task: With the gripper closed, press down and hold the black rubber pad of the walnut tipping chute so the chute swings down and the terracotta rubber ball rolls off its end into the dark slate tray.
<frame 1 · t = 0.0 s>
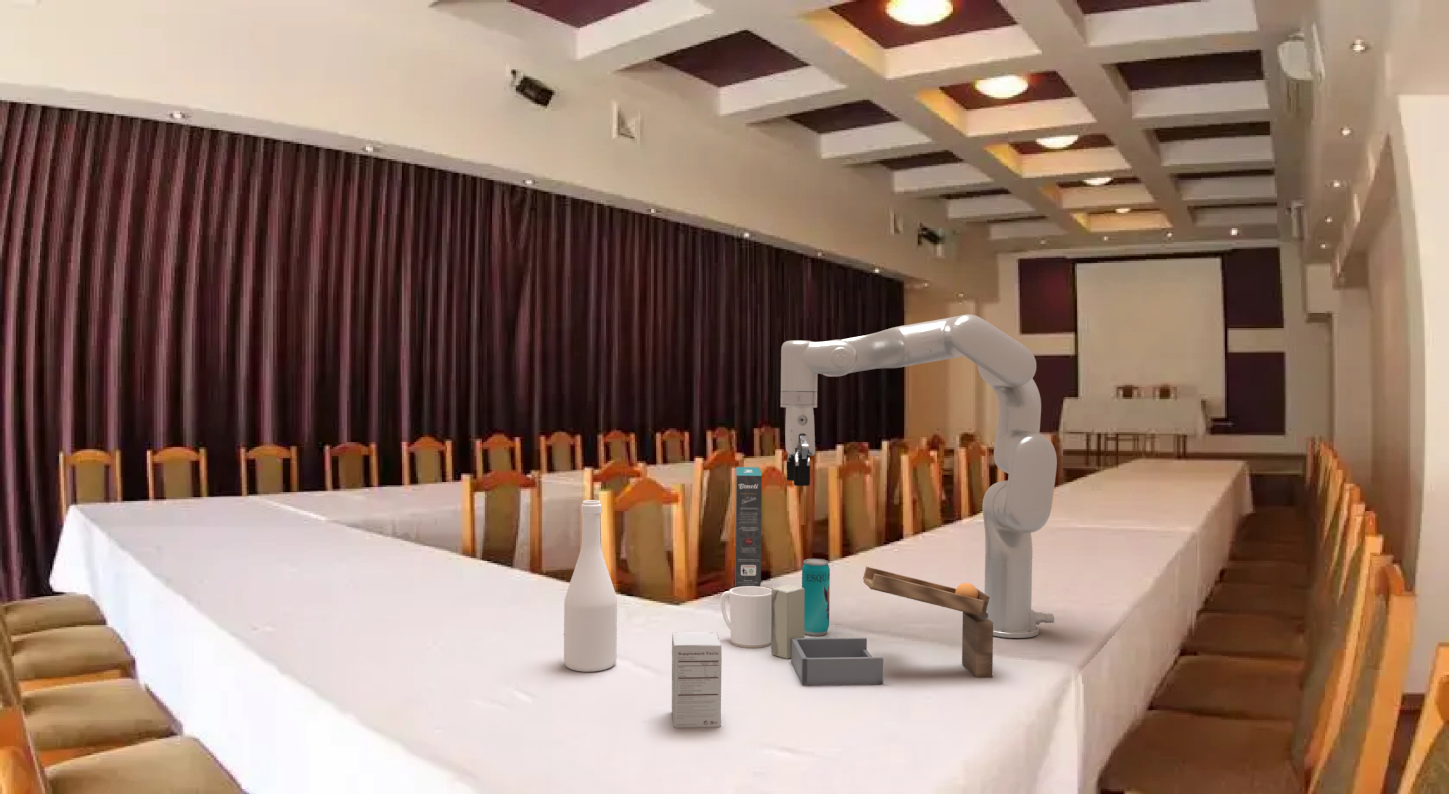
hand: (797, 483, 191), 31 cm above the table, fingers open, 9 cm apart
beverage can: (815, 634, 192), on the table
lever: (919, 584, 171), point 15 cm above the table, hinge at -14.0°, touching ball
supplement box: (695, 720, 142), on the table
mug: (746, 643, 185), on the table
wine bottle: (590, 666, 169), on the table
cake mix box: (747, 592, 229), on the table
tray: (835, 673, 165), on the table
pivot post: (977, 671, 167), on the table
box: (787, 655, 176), on the table
ball: (966, 594, 167), point 14 cm above the table, tilted 18°, touching lever
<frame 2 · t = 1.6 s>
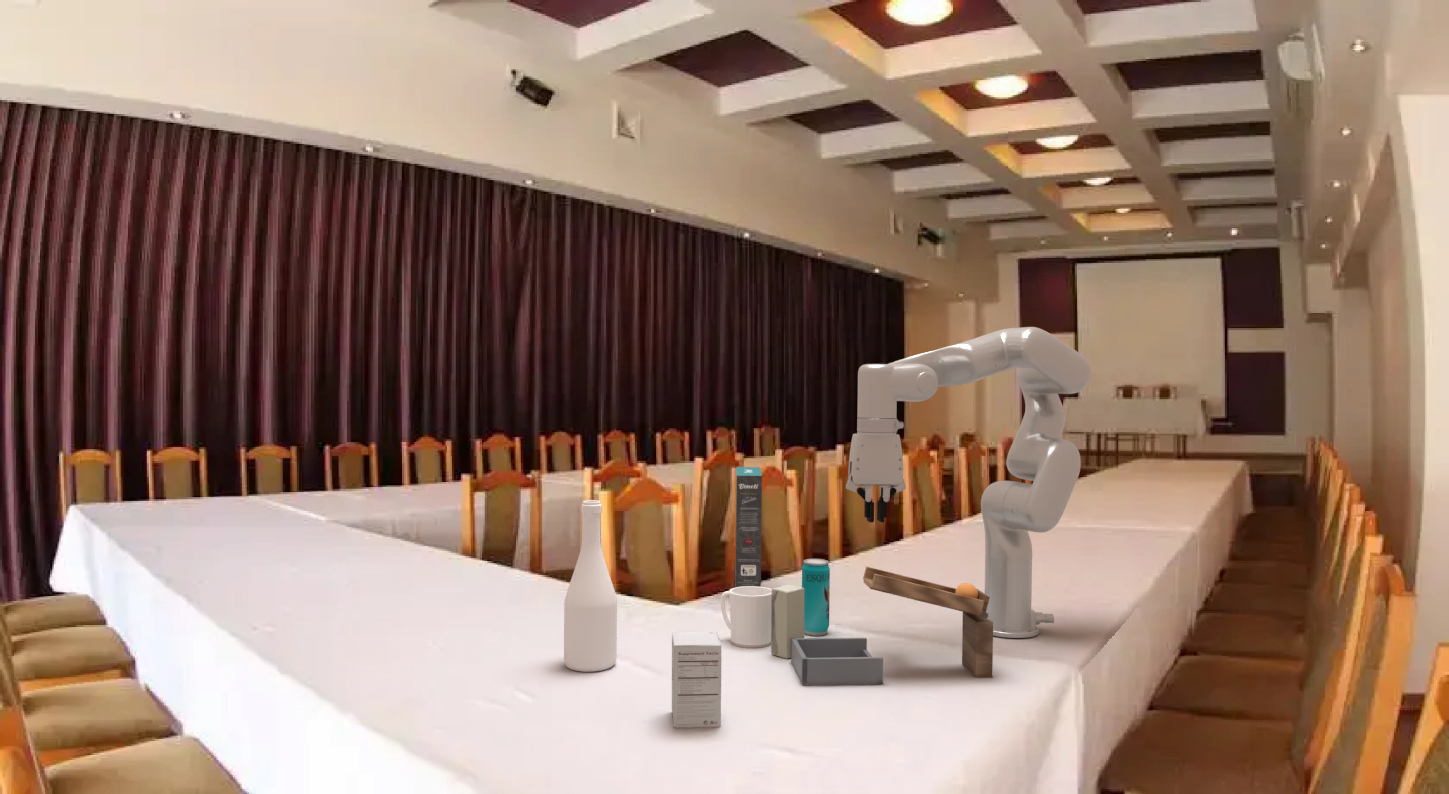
hand: (875, 520, 180), 25 cm above the table, fingers closed
nothing on the table moved.
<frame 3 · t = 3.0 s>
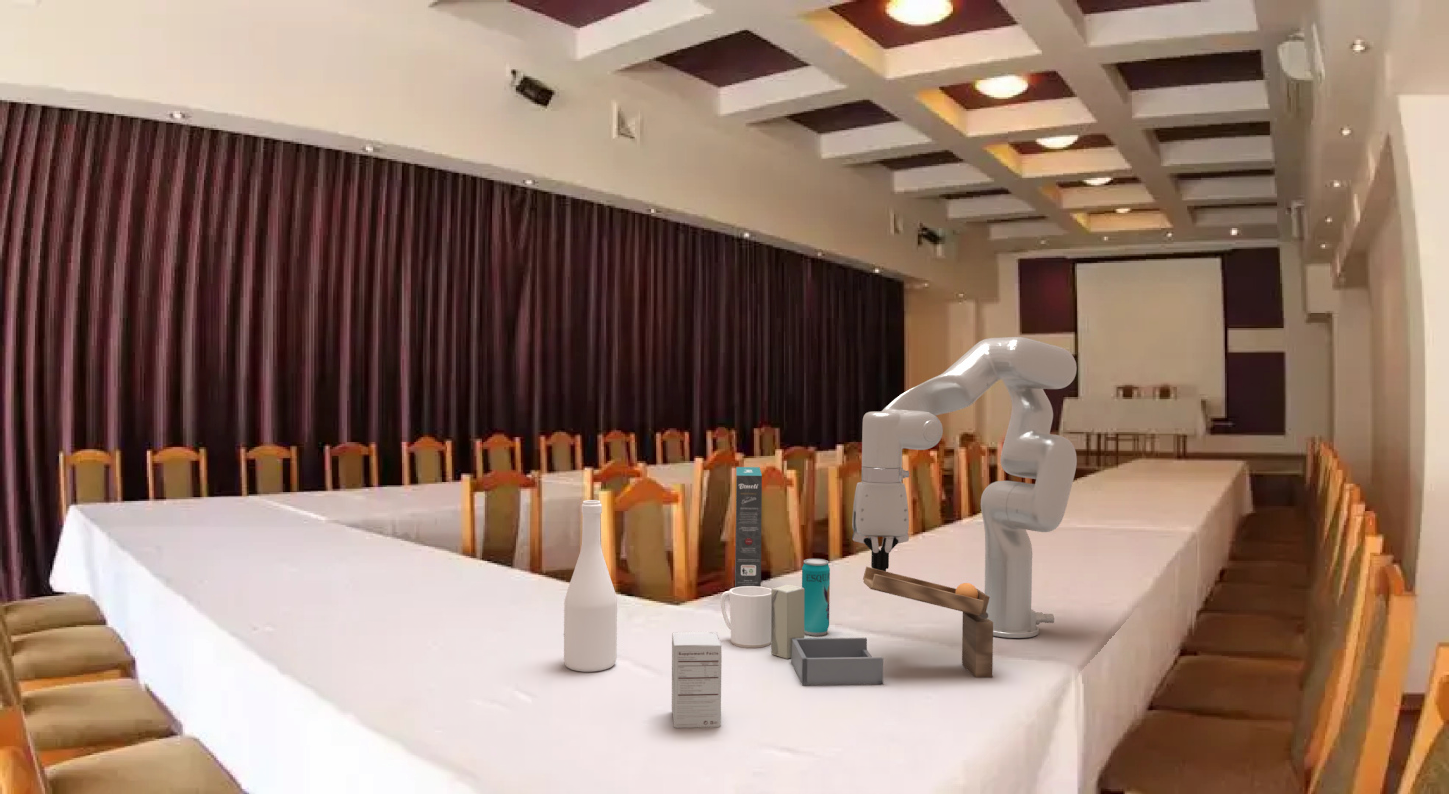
hand: (879, 572, 176), 16 cm above the table, fingers closed
lever: (919, 584, 171), point 15 cm above the table, hinge at -13.9°, touching ball, gripper
everything else where it was.
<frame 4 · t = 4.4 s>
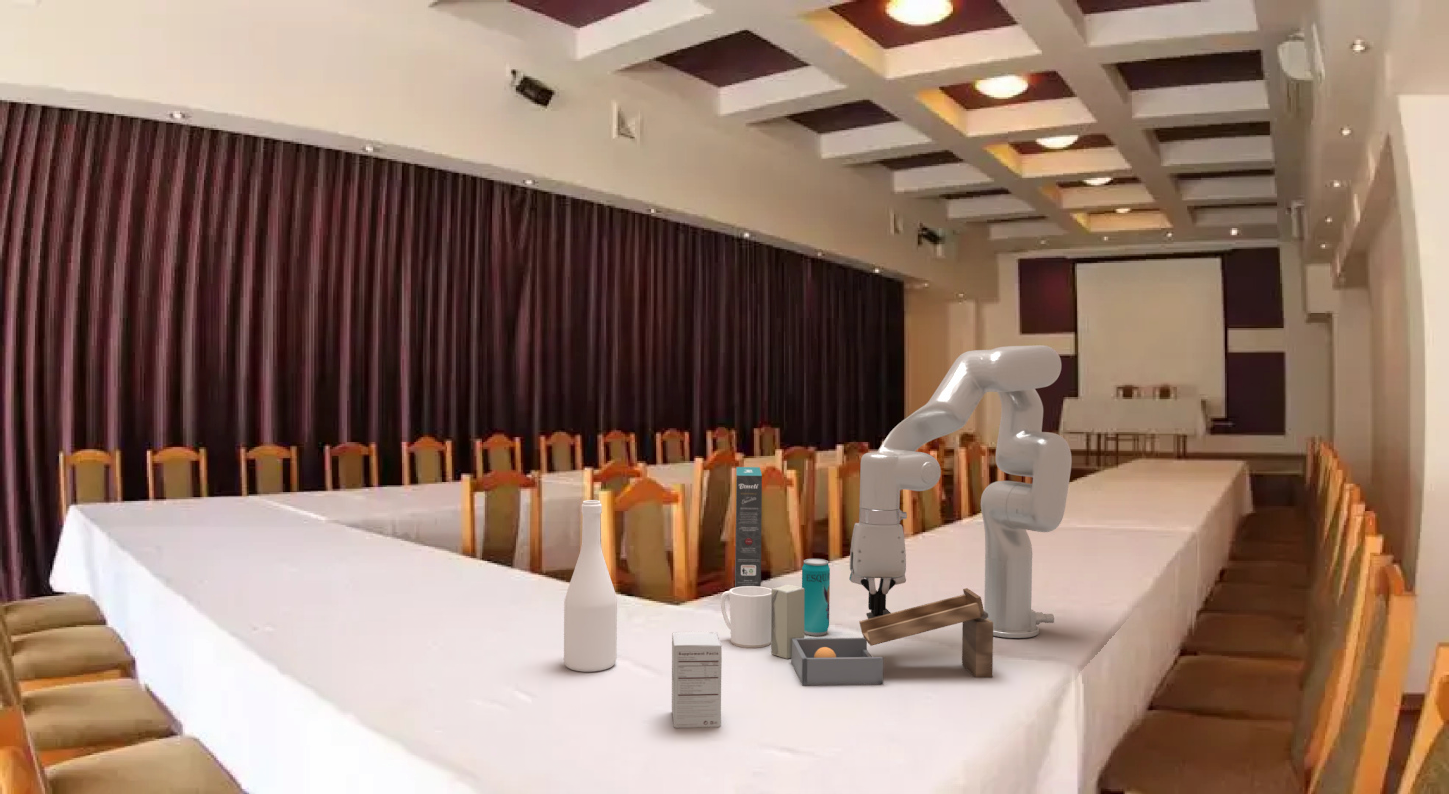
hand: (876, 613, 176), 8 cm above the table, fingers closed
lever: (915, 611, 171), point 10 cm above the table, hinge at 13.8°, touching gripper
ball: (825, 658, 165), point 3 cm above the table, tilted 18°, touching tray
everything else where it was.
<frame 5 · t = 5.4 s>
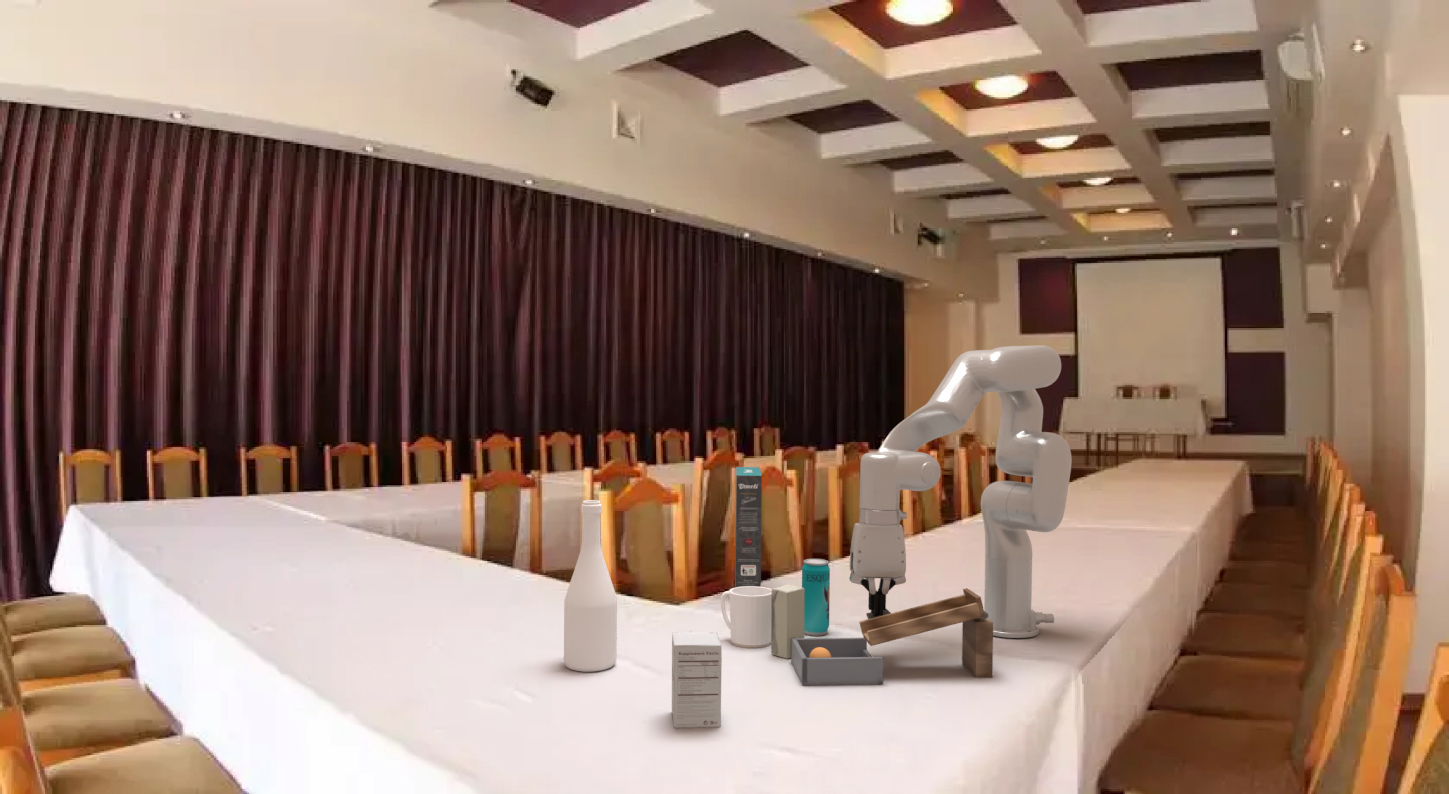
hand: (876, 613, 176), 8 cm above the table, fingers closed
ball: (820, 658, 165), point 3 cm above the table, tilted 110°, touching tray
everything else where it was.
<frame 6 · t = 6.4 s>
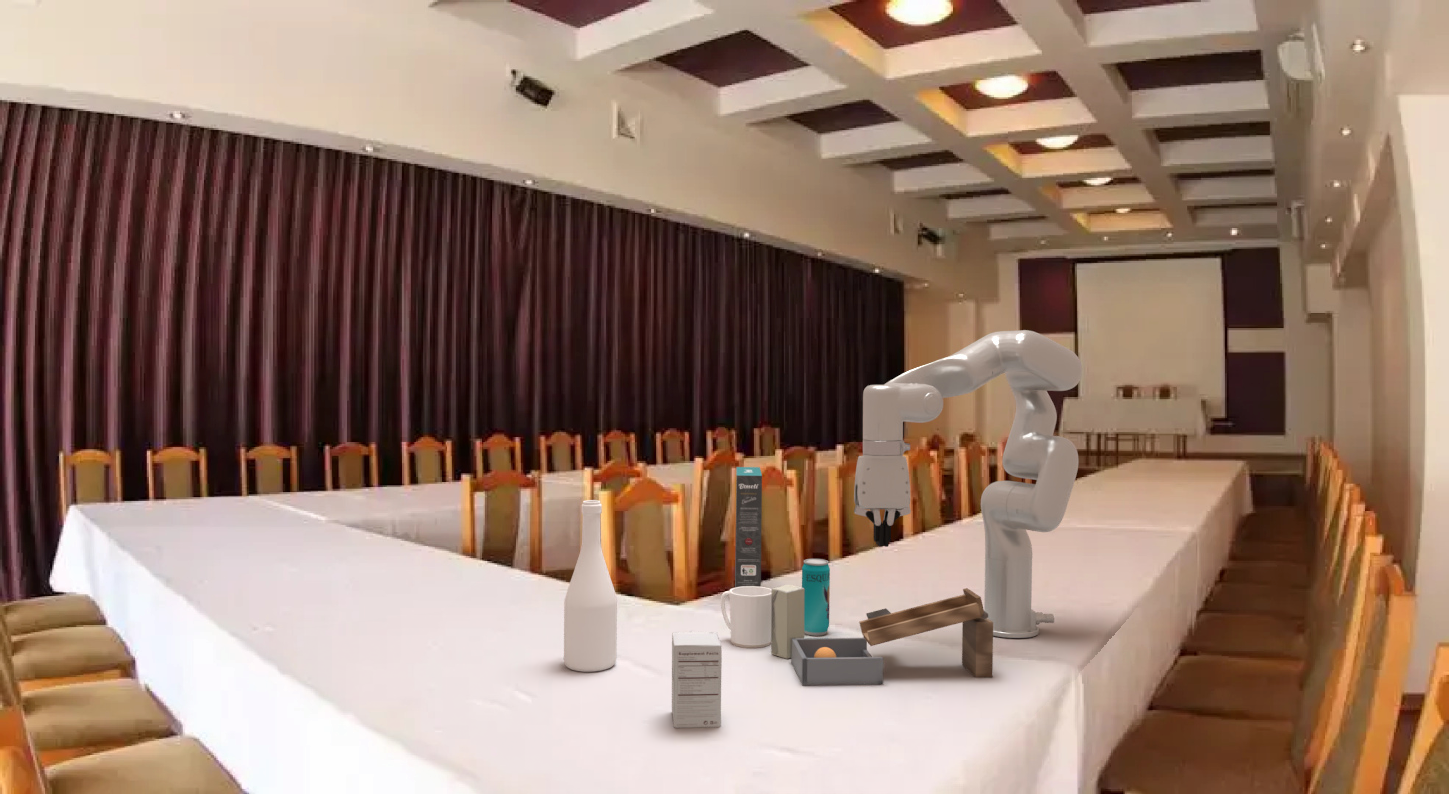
hand: (882, 545, 176), 21 cm above the table, fingers closed
lever: (915, 611, 171), point 10 cm above the table, hinge at 13.9°
ball: (825, 658, 165), point 3 cm above the table, tilted 83°, touching tray
everything else where it was.
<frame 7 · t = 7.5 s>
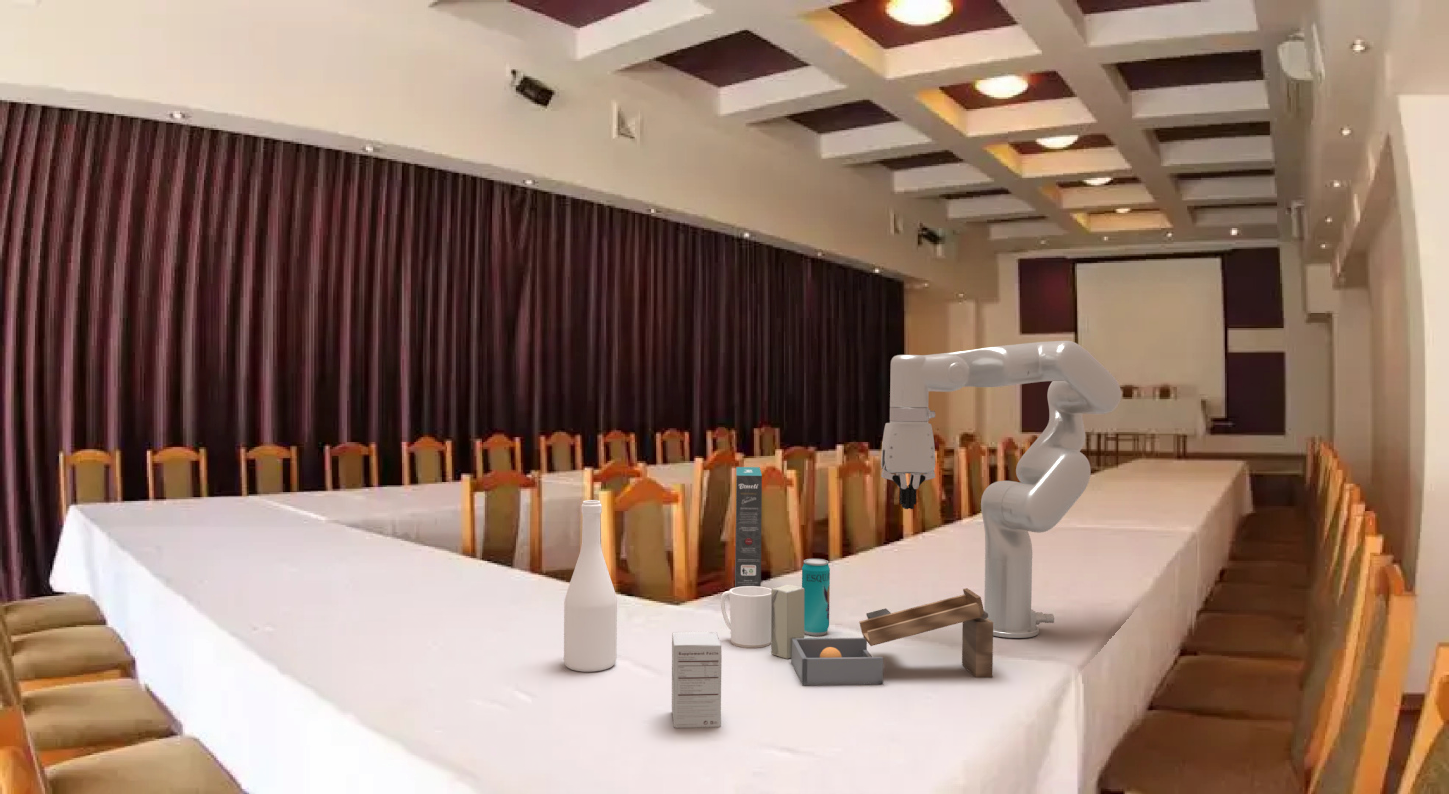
hand: (907, 508, 185), 27 cm above the table, fingers closed
ball: (830, 658, 165), point 3 cm above the table, tilted 55°, touching tray
everything else where it was.
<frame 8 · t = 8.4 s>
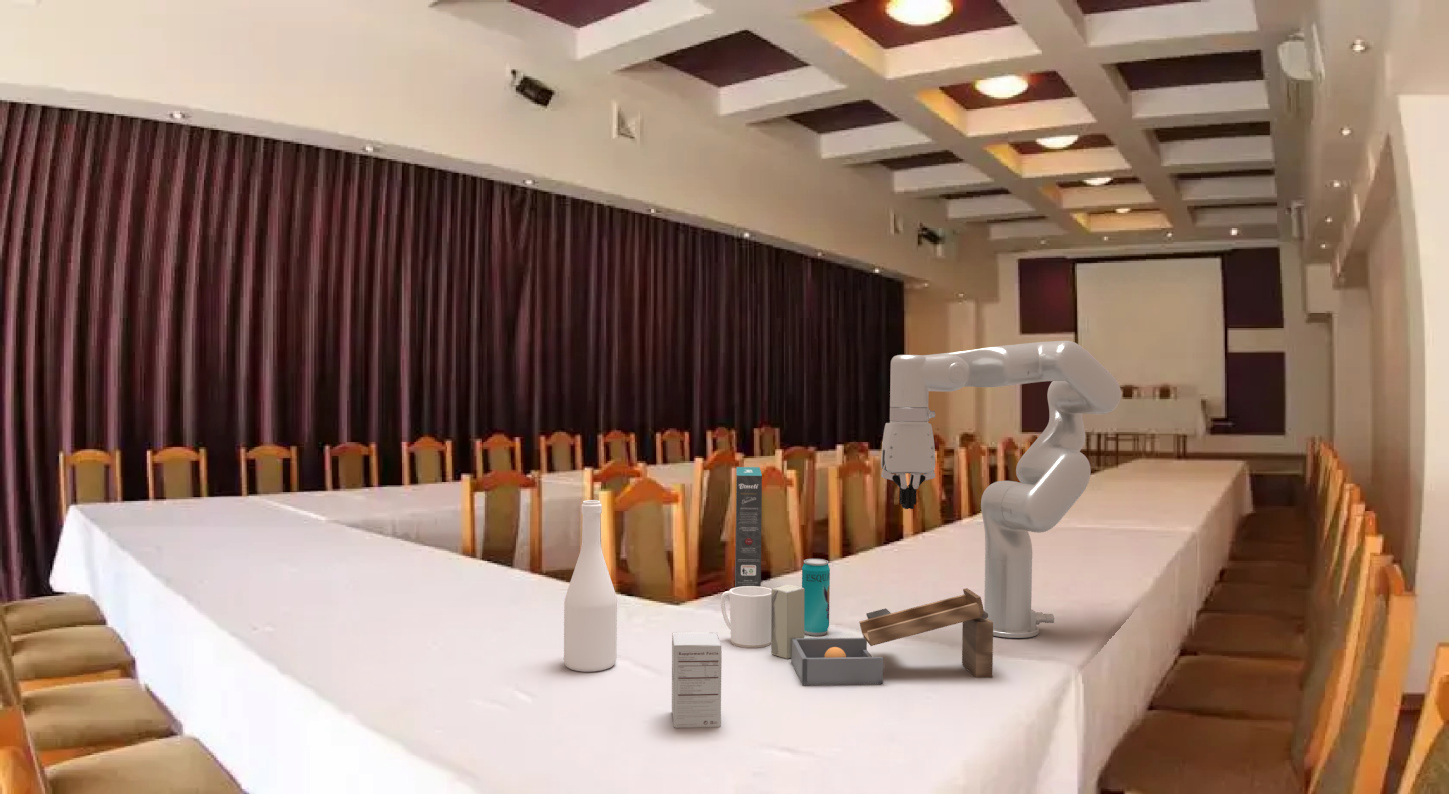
hand: (907, 508, 185), 27 cm above the table, fingers closed
ball: (835, 658, 165), point 3 cm above the table, tilted 31°, touching tray
everything else where it was.
at the end: ball inside the target area on the tray (0.0 cm from its centre), point 2.6 cm above the tray's base; lever at +14° (first picture: -14°) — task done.
